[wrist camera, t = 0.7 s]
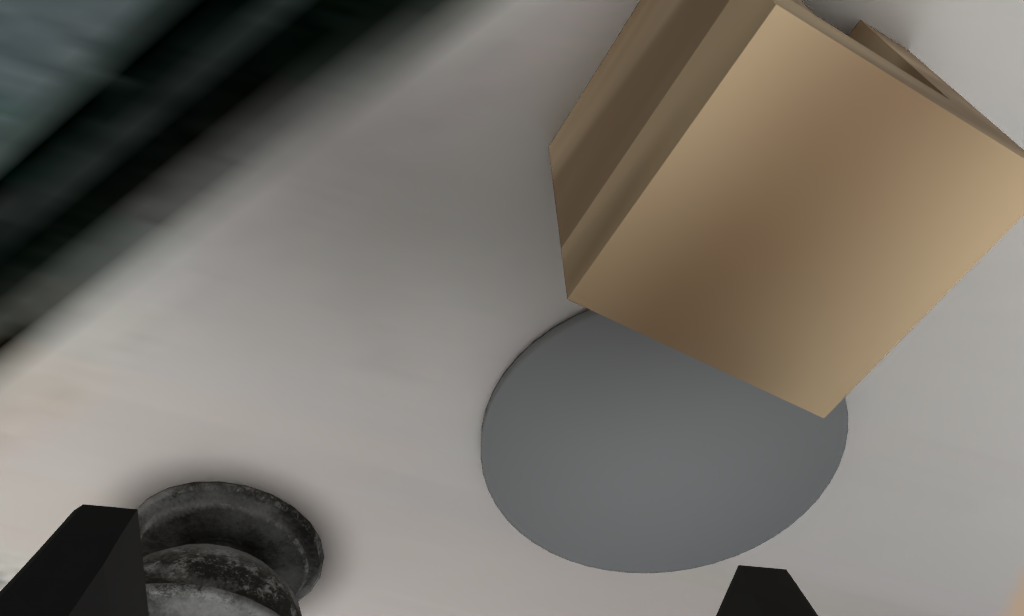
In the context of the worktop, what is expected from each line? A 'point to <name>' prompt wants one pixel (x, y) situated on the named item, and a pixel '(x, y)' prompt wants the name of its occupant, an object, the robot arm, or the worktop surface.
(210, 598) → the dark grey stone ornament
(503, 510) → the pad
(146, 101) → the worktop surface
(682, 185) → the slotted wooden block
